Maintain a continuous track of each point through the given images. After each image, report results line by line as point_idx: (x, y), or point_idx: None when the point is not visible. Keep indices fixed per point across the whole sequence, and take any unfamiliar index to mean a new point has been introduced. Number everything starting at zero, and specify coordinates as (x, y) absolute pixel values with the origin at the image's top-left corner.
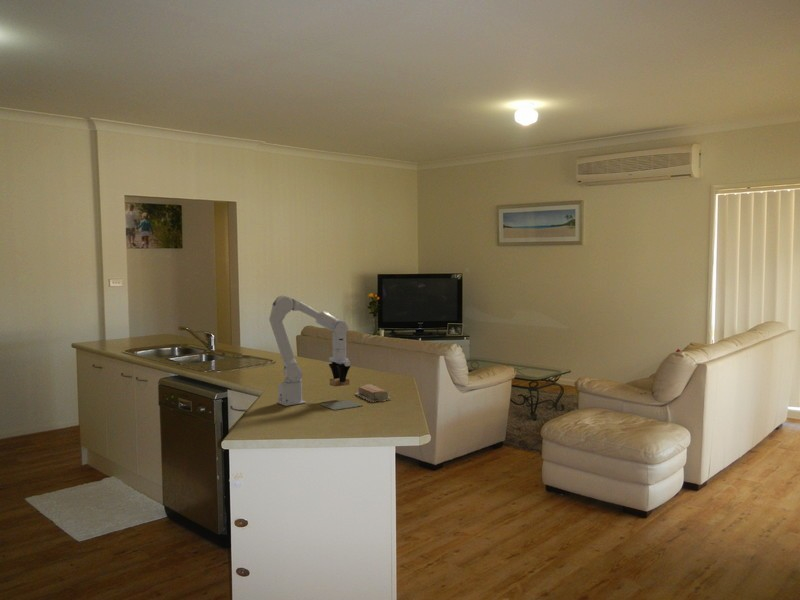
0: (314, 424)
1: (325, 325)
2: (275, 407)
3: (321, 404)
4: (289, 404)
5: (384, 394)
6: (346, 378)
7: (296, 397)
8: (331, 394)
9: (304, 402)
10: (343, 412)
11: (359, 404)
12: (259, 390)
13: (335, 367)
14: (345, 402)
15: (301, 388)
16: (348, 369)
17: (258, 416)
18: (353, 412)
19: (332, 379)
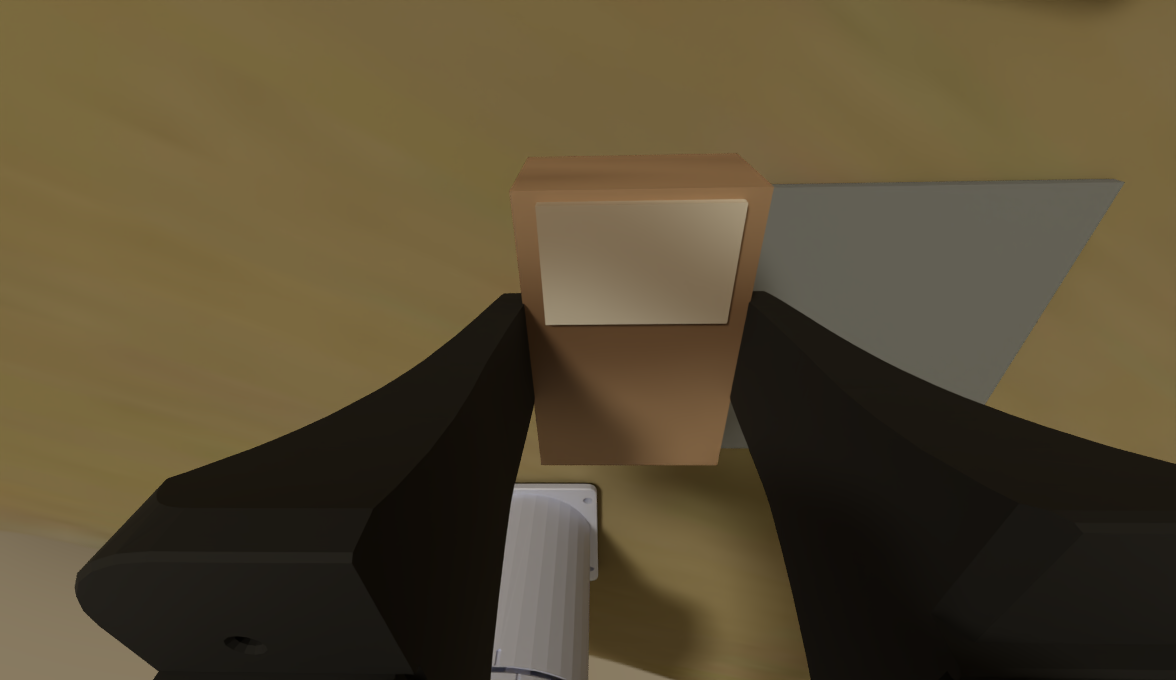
0: None
1: None
2: (591, 600)
3: (738, 447)
4: (597, 563)
5: None
6: (735, 254)
7: (589, 572)
8: (316, 169)
9: (596, 497)
10: (1063, 420)
11: (1059, 196)
12: (32, 533)
13: (479, 581)
14: (844, 271)
15: (567, 608)
16: (1060, 450)
17: (713, 668)
18: (1154, 369)
19: (608, 453)
